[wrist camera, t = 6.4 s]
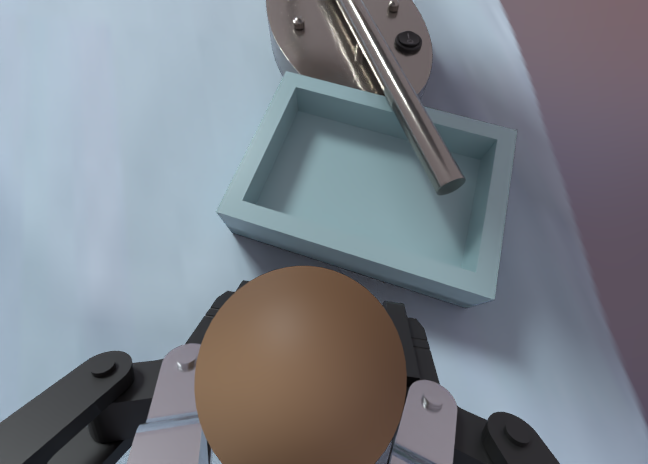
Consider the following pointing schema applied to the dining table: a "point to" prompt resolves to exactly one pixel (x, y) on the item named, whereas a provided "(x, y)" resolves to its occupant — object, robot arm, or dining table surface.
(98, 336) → the dining table surface
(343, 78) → the light fixture
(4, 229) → the dining table surface
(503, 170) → the bin
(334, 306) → the dowel
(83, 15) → the dining table surface
